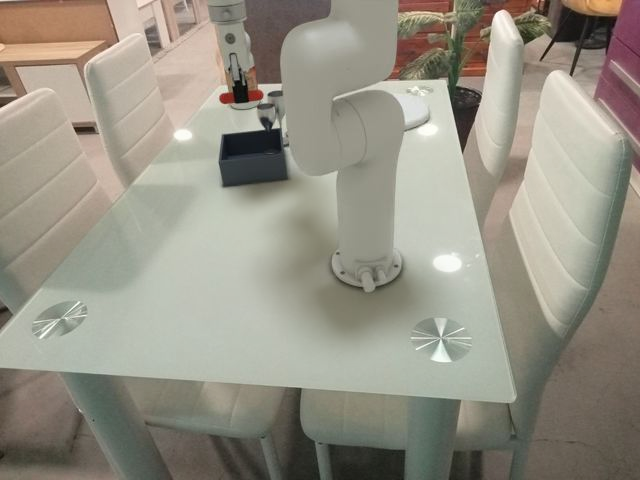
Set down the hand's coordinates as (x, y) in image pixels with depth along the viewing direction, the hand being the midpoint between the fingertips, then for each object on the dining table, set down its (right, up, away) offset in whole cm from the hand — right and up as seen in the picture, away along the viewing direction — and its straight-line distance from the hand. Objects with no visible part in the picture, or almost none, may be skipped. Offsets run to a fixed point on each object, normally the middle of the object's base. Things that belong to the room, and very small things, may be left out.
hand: (242, 99), depth 108 cm
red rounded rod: (0, 0, 0) cm, 1 cm away
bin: (+2, -14, +11) cm, 18 cm away
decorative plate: (+37, +4, +31) cm, 49 cm away
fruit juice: (-6, +12, +46) cm, 48 cm away
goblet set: (+10, -2, +25) cm, 27 cm away
